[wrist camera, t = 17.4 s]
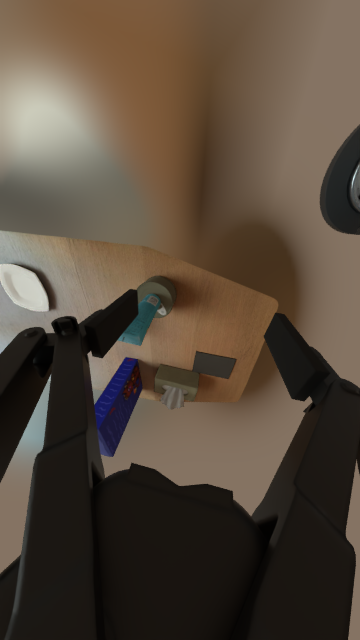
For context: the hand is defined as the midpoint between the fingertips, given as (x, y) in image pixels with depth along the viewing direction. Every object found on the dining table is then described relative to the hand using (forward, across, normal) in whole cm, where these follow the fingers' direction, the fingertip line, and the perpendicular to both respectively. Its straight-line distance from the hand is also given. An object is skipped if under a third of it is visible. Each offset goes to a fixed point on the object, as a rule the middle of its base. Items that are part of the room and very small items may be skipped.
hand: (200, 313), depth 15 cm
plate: (+35, -68, -21) cm, 79 cm away
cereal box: (+35, -26, -60) cm, 74 cm away
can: (+35, -14, -14) cm, 40 cm away
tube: (+28, -14, -14) cm, 34 cm away
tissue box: (+35, -4, -54) cm, 64 cm away
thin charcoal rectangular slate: (+35, +10, -43) cm, 56 cm away
